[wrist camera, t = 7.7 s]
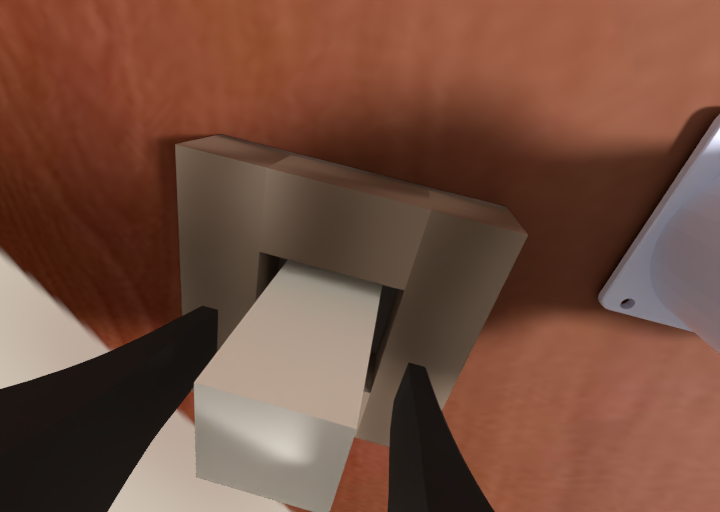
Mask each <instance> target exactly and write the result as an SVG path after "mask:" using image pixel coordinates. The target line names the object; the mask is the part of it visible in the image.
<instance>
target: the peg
mask: <svg viewBox="0 0 720 512" xmlns="http://www.w3.org/2000/svg"><path fill="white" fill-rule="evenodd" d="M381 289H382V284H378V283H374V282H371V281H367V280H363V279H359V278H356V277H352V276H348V275H344V274H341V273H337V272H333V271H329V270H326V269H322V268H318V267H315V266H311V265H307V264H303V263H300V262H296V261H292V260H287V261H286V263H285V264H284V265H283V267H282V268H281V269H280V271H279V272H278V273H277V275H276V276H275V277H274V278H273V280H272V281H271V282H270V284H269V285H268V286H267V288H266V289H265V290H264V292H263V293H262V294H261V295H260V297H259V298H258V299H257V301H256V302H255V303H254V305H253V306H252V307H251V309H250V310H249V311H248V312H247V314H246V315H245V316H244V318H243V319H242V320H241V322H240V323H239V324H238V326H237V327H236V328H235V329H234V331H233V332H232V333H231V335H230V336H229V337H228V339H227V340H226V341H225V343H224V344H223V345H222V347H221V348H220V349H219V350H218V352H217V353H216V354H215V356H214V357H213V358H212V360H211V361H210V362H209V364H208V365H207V366H206V367H205V369H204V370H203V371H202V373H201V374H200V375H199V377H198V378H197V379H196V381H195V382H194V405H195V447H196V477H197V478H201V479H204V480H208V481H211V482H214V483H218V484H221V485H225V486H228V487H231V488H235V489H238V490H242V491H245V492H248V493H252V494H255V495H259V496H262V497H265V498H268V499H272V500H275V501H279V502H282V503H285V504H289V505H292V506H296V507H299V508H302V509H306V510H309V511H312V512H330V509H331V506H332V503H333V500H334V497H335V494H336V491H337V488H338V485H339V482H340V479H341V475H342V472H343V469H344V466H345V463H346V460H347V457H348V454H349V451H350V448H351V445H352V442H353V439H354V436H355V433H356V430H357V425H358V419H359V414H360V408H361V402H362V397H363V391H364V385H365V380H366V374H367V368H368V363H369V357H370V351H371V346H372V340H373V335H374V329H375V323H376V318H377V312H378V306H379V301H380V295H381Z"/></svg>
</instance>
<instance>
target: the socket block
mask: <svg viewBox="0 0 720 512" xmlns="http://www.w3.org/2000/svg"><path fill="white" fill-rule="evenodd" d="M175 154H176V178H177V202H178V227H179V251H180V275H181V300H182V316H183V315H185V314H187V313H189V312H191V311H193V310H195V309H197V308H199V307H201V306H206V307H210V308H213V309H217V310H218V338H217V352H218V350H219V349H220V348H221V347H222V345H223V344H224V343H225V341H226V340H227V339H228V337H229V336H230V335H231V333H232V332H233V331H234V329H235V328H236V327H237V326H238V324H239V323H240V322H241V320H242V319H243V318H244V316H245V315H246V314H247V312H248V311H249V310H250V309H251V307H252V306H253V305H254V303H255V302H256V301H257V299H258V298H259V297H260V295H261V294H262V293H263V292H264V290H265V289H266V288H267V286H268V285H269V284H270V282H271V281H272V280H273V278H274V277H275V276H276V275H277V273H278V272H279V271H280V269H281V268H282V267H283V265H284V264H285V263H286V261H287V260H292V261H296V262H300V263H303V264H307V265H311V266H315V267H318V268H322V269H326V270H329V271H333V272H337V273H341V274H344V275H348V276H352V277H356V278H359V279H363V280H367V281H371V282H374V283H378V284H382V289H381V295H380V301H379V306H378V312H377V318H376V323H375V329H374V335H373V340H372V346H371V351H370V357H369V363H368V368H367V374H366V380H365V385H364V391H363V397H362V402H361V408H360V414H359V419H358V425H357V430H356V433H355V436H354V437H356V438H359V439H363V440H366V441H370V442H373V443H377V444H380V445H384V446H387V447H390V426H391V417H392V410H393V403H394V399H395V396H396V393H397V391H398V388H399V386H400V383H401V380H402V378H403V375H404V373H405V370H406V368H407V365H408V362H409V363H413V364H416V365H420V366H424V367H425V368H426V369H427V372H428V375H429V378H430V381H431V384H432V387H433V390H434V393H435V395H436V398H437V401H438V403H439V406H440V408H441V411H442V409H443V407H444V405H445V403H446V401H447V399H448V397H449V395H450V393H451V391H452V389H453V386H454V384H455V382H456V380H457V378H458V376H459V374H460V372H461V370H462V368H463V366H464V364H465V362H466V360H467V358H468V356H469V354H470V352H471V350H472V348H473V346H474V344H475V342H476V340H477V338H478V336H479V334H480V332H481V330H482V328H483V326H484V324H485V322H486V320H487V318H488V316H489V314H490V312H491V310H492V308H493V306H494V304H495V302H496V300H497V298H498V295H499V293H500V291H501V289H502V287H503V285H504V283H505V281H506V279H507V277H508V275H509V273H510V271H511V269H512V267H513V265H514V263H515V261H516V259H517V257H518V255H519V253H520V251H521V249H522V247H523V245H524V243H525V241H526V239H527V237H528V234H527V233H526V232H525V230H524V229H523V228H522V226H521V225H520V224H519V223H518V221H517V220H516V219H515V217H514V216H513V215H512V214H511V212H510V211H509V210H508V208H507V207H505V206H502V205H498V204H494V203H490V202H486V201H482V200H478V199H474V198H470V197H466V196H462V195H458V194H454V193H451V192H447V191H443V190H439V189H435V188H431V187H427V186H423V185H419V184H415V183H411V182H407V181H403V180H400V179H396V178H392V177H388V176H384V175H380V174H376V173H372V172H368V171H364V170H360V169H356V168H352V167H349V166H345V165H341V164H337V163H333V162H329V161H325V160H321V159H317V158H313V157H309V156H305V155H301V154H298V153H294V152H290V151H286V150H282V149H278V148H274V147H270V146H266V145H262V144H258V143H254V142H250V141H247V140H243V139H239V138H235V137H231V136H227V135H223V134H220V135H215V136H210V137H206V138H201V139H197V140H192V141H188V142H183V143H178V144H175ZM217 352H216V353H217ZM191 391H194V387H193V389H192V390H191Z"/></svg>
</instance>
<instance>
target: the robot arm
mask: <svg viewBox="0 0 720 512" xmlns="http://www.w3.org/2000/svg"><path fill="white" fill-rule="evenodd" d="M625 299H629V301H627V302H626V303H624V304H621V302H622V301H623V300H625ZM598 301H599V302H600V303H601V305H602V306H603V307H604V308H606V309H608V310H611V311H615V312H619V313H623V314H627V315H630V316H634V317H638V318H642V319H646V320H649V321H653V322H657V323H661V324H665V325H668V326H672V327H676V328H680V329H683V330H687V331H691V332H695V333H696V334H697V335H698V336H699V337H700V338H701V339H703V340H704V341H705V342H706V343H707V344H708V345H709V346H711V347H712V348H713V349H714V350H715V351H716V352H718V353H719V354H720V114H719V115H718V116H717V117H716V118H715V120H714V121H713V123H712V124H711V126H710V127H709V129H708V130H707V132H706V133H705V135H704V136H703V138H702V139H701V141H700V142H699V144H698V145H697V147H696V148H695V150H694V151H693V153H692V154H691V156H690V157H689V159H688V160H687V162H686V163H685V165H684V166H683V168H682V169H681V171H680V172H679V174H678V175H677V177H676V178H675V180H674V182H673V183H672V185H671V186H670V188H669V189H668V191H667V192H666V194H665V195H664V197H663V198H662V200H661V201H660V203H659V204H658V206H657V207H656V209H655V210H654V212H653V213H652V215H651V216H650V218H649V219H648V221H647V222H646V224H645V225H644V227H643V228H642V230H641V231H640V233H639V234H638V236H637V237H636V239H635V240H634V242H633V243H632V245H631V246H630V248H629V249H628V251H627V252H626V254H625V255H624V257H623V258H622V260H621V262H620V263H619V265H618V266H617V268H616V269H615V271H614V272H613V274H612V275H611V277H610V278H609V280H608V281H607V283H606V284H605V286H604V287H603V289H602V290H601V292H600V293H599V296H598ZM217 338H218V310H217V309H213V308H210V307H206V306H201V307H199V308H197V309H195V310H193V311H191V312H189V313H187V314H185V315H183V316H181V317H179V318H178V319H176V320H174V321H172V322H170V323H168V324H166V325H164V326H162V327H160V328H158V329H156V330H154V331H153V332H151V333H149V334H147V335H145V336H142V337H140V338H138V339H136V340H134V341H132V342H130V343H127V344H125V345H123V346H121V347H119V348H117V349H114V350H112V351H110V352H108V353H105V354H103V355H101V356H98V357H96V358H93V359H90V360H88V361H85V362H83V363H80V364H77V365H75V366H72V367H69V368H66V369H64V370H60V371H58V372H54V373H51V374H48V375H45V376H42V377H39V378H36V379H33V380H30V381H27V382H23V383H20V384H17V385H13V386H10V387H6V388H3V389H0V512H107V511H108V510H109V508H110V507H111V505H112V503H113V502H114V500H115V498H116V497H117V495H118V493H119V492H120V490H121V489H122V487H123V485H124V484H125V482H126V480H127V479H128V477H129V475H130V474H131V473H132V471H133V469H134V468H135V466H136V465H137V463H138V462H139V460H140V459H141V457H142V455H143V454H144V452H145V451H146V449H147V448H148V446H149V445H150V443H151V442H152V440H153V439H154V438H155V436H156V435H157V434H158V432H159V431H160V429H161V428H162V427H163V426H164V424H165V423H166V422H167V420H168V419H169V418H170V417H171V415H172V414H173V413H174V412H175V410H176V409H177V408H178V406H179V405H180V404H181V403H182V401H183V400H184V399H185V398H186V396H187V395H188V394H189V392H190V391H191V390H192V389H193V387H194V382H195V381H196V379H197V378H198V377H199V375H200V374H201V373H202V371H203V370H204V369H205V367H206V366H207V365H208V364H209V362H210V361H211V360H212V358H213V357H214V356H215V354H216V352H217ZM388 512H495V511H494V510H493V508H492V507H491V505H490V504H489V502H488V501H487V499H486V497H485V496H484V494H483V492H482V491H481V489H480V487H479V486H478V484H477V482H476V481H475V479H474V477H473V475H472V474H471V472H470V470H469V468H468V466H467V464H466V463H465V461H464V459H463V457H462V455H461V453H460V451H459V449H458V447H457V445H456V443H455V440H454V438H453V436H452V434H451V432H450V430H449V427H448V425H447V423H446V420H445V418H444V416H443V413H442V411H441V408H440V406H439V403H438V401H437V398H436V395H435V393H434V390H433V387H432V384H431V381H430V378H429V375H428V372H427V369H426V368H425V367H424V366H420V365H416V364H413V363H409V362H408V365H407V368H406V370H405V373H404V375H403V378H402V380H401V383H400V386H399V388H398V391H397V393H396V396H395V399H394V403H393V410H392V417H391V426H390V452H389V498H388Z"/></svg>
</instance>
